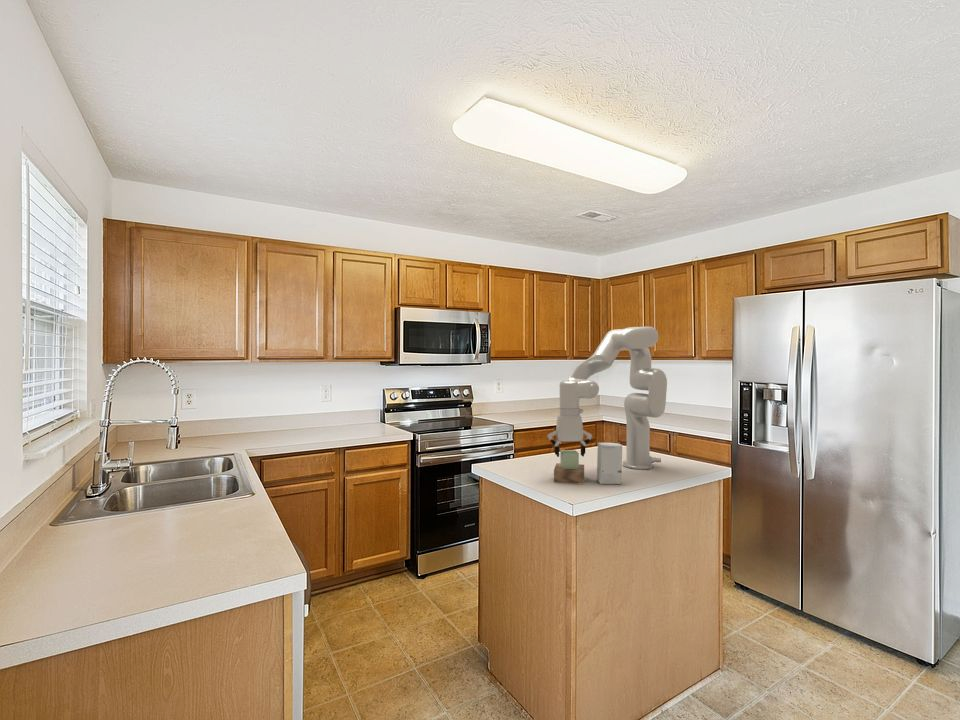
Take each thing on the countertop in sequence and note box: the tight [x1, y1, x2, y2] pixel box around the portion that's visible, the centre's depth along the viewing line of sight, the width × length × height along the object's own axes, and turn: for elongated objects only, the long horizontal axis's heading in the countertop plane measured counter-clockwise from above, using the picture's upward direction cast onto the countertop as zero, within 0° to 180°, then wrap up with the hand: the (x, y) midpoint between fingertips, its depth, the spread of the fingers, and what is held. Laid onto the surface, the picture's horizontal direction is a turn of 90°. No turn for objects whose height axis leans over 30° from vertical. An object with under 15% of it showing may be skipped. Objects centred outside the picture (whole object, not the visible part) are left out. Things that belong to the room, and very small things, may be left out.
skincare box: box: [596, 442, 623, 485], centre depth 183 cm, size 8×6×15 cm
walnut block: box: [553, 462, 585, 485], centre depth 188 cm, size 11×11×5 cm
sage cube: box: [559, 449, 580, 469], centre depth 188 cm, size 6×6×6 cm
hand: (570, 455), depth 188 cm, fingers open, 9 cm apart
